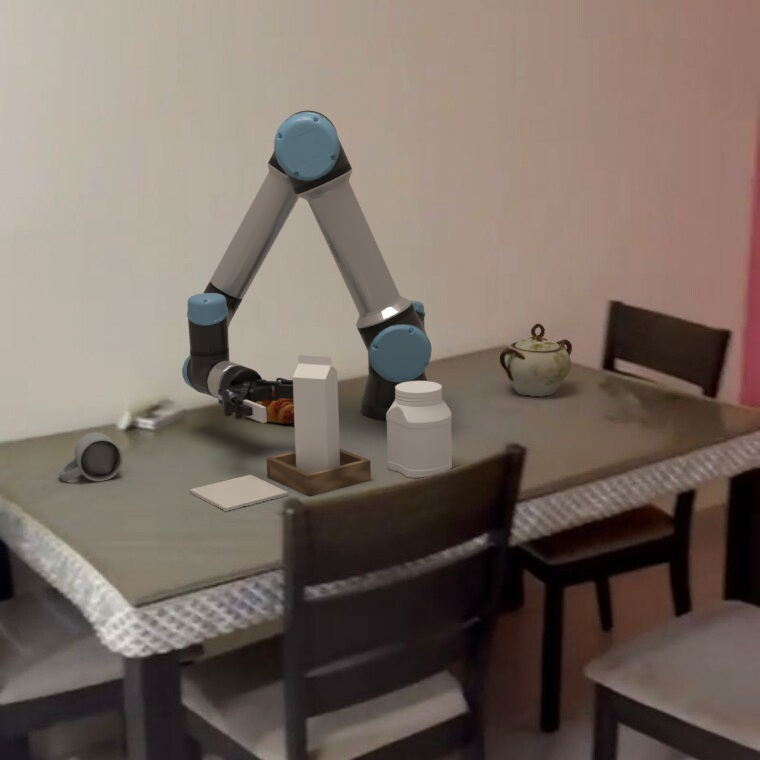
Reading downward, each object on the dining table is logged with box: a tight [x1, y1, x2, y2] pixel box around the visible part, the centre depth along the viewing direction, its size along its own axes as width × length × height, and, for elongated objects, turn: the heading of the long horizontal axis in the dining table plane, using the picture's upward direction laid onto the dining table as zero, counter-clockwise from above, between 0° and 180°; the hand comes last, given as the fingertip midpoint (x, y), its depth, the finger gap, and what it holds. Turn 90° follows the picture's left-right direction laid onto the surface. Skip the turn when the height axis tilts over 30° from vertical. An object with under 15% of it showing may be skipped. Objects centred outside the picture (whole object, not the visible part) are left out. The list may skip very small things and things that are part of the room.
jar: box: [386, 380, 453, 479], centre depth 221 cm, size 12×10×15 cm
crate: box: [266, 448, 372, 497], centre depth 218 cm, size 13×13×4 cm
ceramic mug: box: [58, 431, 123, 482], centre depth 221 cm, size 11×8×8 cm
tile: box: [189, 474, 289, 512], centre depth 211 cm, size 12×12×1 cm
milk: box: [292, 354, 341, 473], centre depth 216 cm, size 6×6×22 cm
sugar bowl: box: [499, 322, 573, 397], centre depth 270 cm, size 20×15×15 cm
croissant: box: [244, 390, 295, 425], centre depth 257 cm, size 21×10×8 cm, turn 40°
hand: (298, 408), depth 218 cm, fingers open, 13 cm apart
